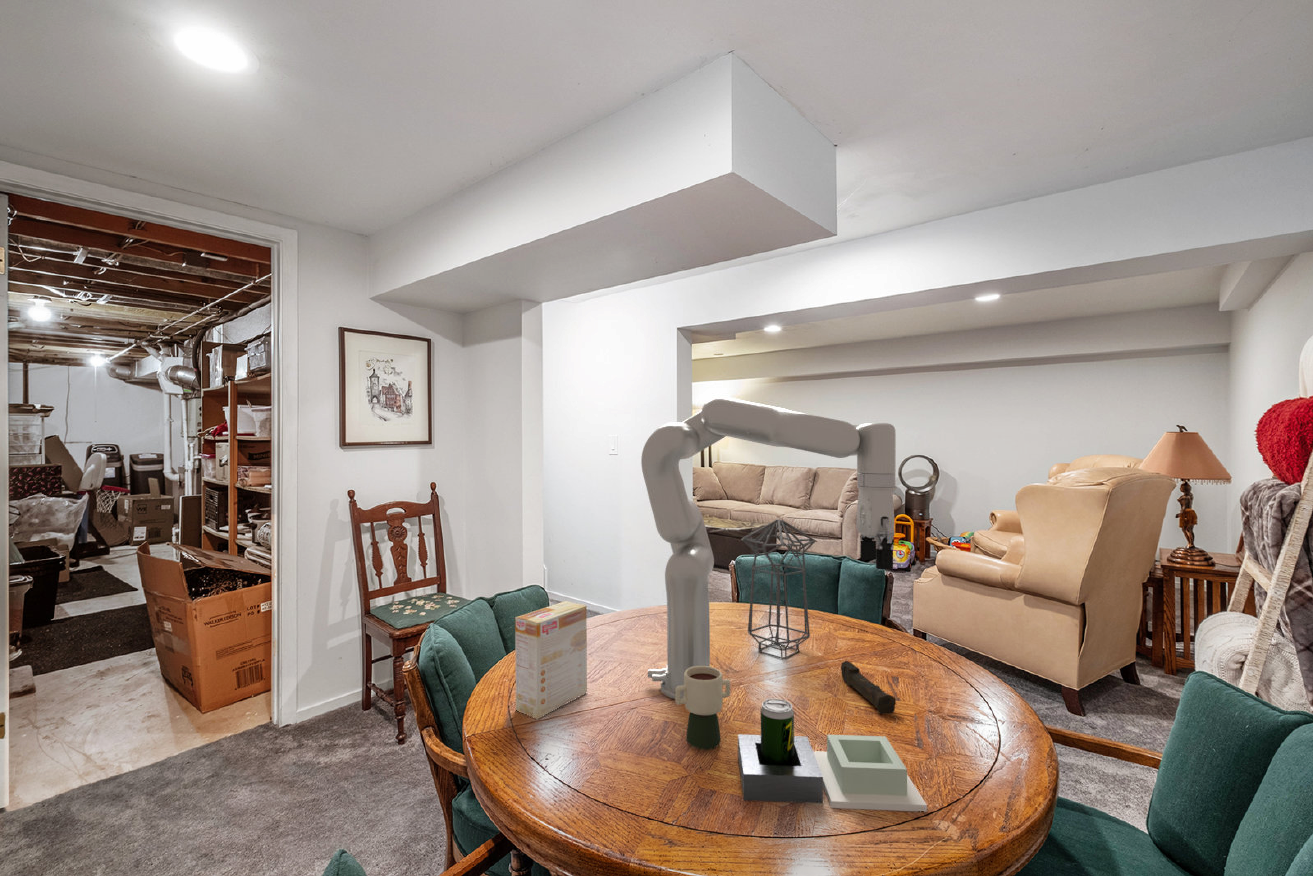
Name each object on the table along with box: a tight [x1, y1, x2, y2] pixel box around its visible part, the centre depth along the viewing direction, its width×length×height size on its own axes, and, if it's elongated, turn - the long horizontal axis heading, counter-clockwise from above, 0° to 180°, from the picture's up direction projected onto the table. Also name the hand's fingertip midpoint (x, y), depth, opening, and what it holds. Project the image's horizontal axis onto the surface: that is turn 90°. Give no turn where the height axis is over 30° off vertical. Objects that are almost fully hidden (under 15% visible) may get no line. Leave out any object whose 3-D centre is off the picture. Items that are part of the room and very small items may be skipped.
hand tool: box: [840, 660, 897, 715], centre depth 124 cm, size 19×4×5 cm, turn 7°
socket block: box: [737, 733, 824, 804], centre depth 92 cm, size 12×12×4 cm
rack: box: [813, 734, 928, 813], centre depth 91 cm, size 14×14×5 cm
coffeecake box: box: [514, 600, 588, 720], centre depth 120 cm, size 15×7×20 cm, turn 145°
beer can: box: [760, 698, 795, 766], centre depth 92 cm, size 5×5×12 cm
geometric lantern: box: [741, 519, 818, 660], centre depth 150 cm, size 16×16×35 cm
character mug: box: [674, 666, 731, 751], centre depth 103 cm, size 11×7×13 cm, turn 108°
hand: (875, 563), depth 118 cm, fingers open, 9 cm apart
